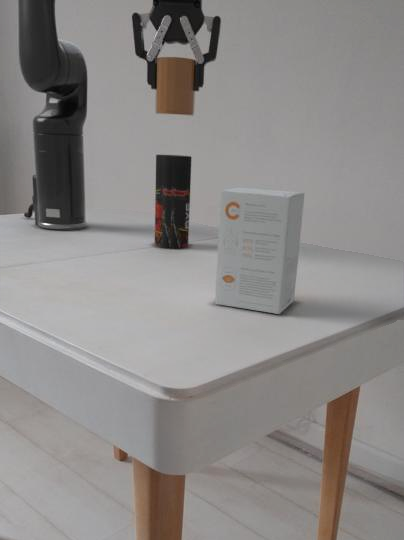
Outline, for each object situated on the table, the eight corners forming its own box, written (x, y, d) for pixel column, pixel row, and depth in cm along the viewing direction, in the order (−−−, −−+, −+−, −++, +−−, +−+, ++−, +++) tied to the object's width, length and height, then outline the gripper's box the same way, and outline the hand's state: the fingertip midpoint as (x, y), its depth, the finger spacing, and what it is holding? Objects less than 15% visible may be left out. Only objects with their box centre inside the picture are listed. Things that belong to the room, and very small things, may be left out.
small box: (294, 302, 69) (306, 191, 64) (279, 315, 63) (291, 195, 58) (232, 292, 72) (239, 186, 67) (213, 304, 66) (219, 189, 61)
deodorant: (187, 249, 97) (190, 157, 92) (152, 247, 97) (154, 155, 92) (188, 243, 103) (192, 156, 97) (156, 241, 103) (157, 154, 97)
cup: (147, 113, 91) (148, 57, 88) (170, 115, 96) (171, 62, 93) (179, 114, 88) (180, 56, 85) (200, 116, 93) (203, 61, 90)
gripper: (226, -25, 88) (220, 93, 94) (134, -29, 88) (134, 89, 94) (225, -39, 81) (219, 90, 87) (126, -43, 81) (126, 86, 87)
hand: (175, 89), depth 91 cm, fingers closed on cup, 6 cm apart
